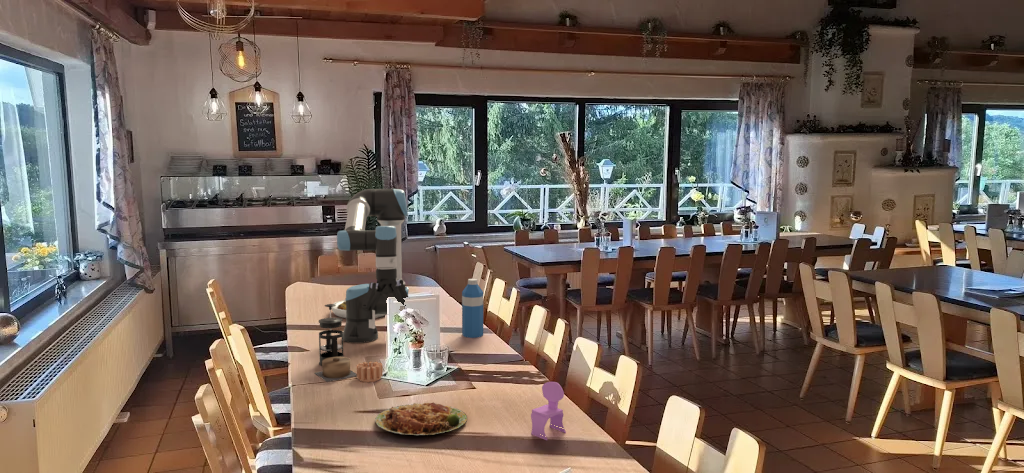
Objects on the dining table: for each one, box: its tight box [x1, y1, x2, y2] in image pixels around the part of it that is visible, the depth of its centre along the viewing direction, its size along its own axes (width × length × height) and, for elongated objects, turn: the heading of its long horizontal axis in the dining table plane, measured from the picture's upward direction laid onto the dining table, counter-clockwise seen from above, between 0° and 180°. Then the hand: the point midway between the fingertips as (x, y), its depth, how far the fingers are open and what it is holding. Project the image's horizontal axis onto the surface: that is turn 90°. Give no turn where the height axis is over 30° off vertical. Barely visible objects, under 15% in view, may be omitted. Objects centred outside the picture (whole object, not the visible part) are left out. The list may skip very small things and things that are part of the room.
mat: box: [314, 370, 357, 383], centre depth 265 cm, size 12×12×1 cm
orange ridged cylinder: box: [356, 360, 384, 383], centre depth 261 cm, size 9×9×5 cm
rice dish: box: [374, 402, 468, 436], centre depth 220 cm, size 28×28×5 cm
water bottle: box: [461, 278, 484, 339], centre depth 319 cm, size 9×9×25 cm
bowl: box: [331, 299, 388, 319], centre depth 361 cm, size 30×30×8 cm
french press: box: [318, 303, 345, 367], centre depth 277 cm, size 12×9×23 cm
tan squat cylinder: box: [321, 356, 352, 378], centre depth 265 cm, size 10×10×6 cm
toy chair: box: [530, 381, 566, 441], centre depth 211 cm, size 8×9×15 cm
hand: (387, 325), depth 266 cm, fingers open, 13 cm apart
